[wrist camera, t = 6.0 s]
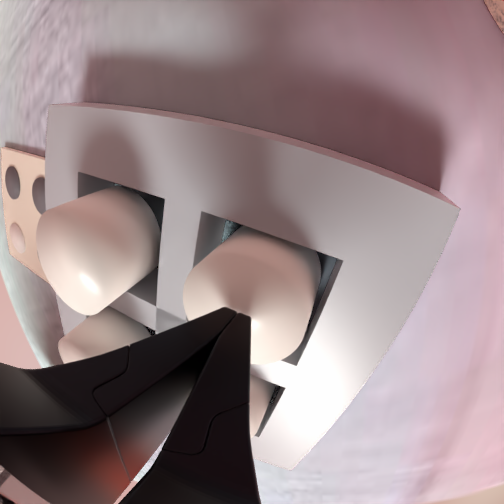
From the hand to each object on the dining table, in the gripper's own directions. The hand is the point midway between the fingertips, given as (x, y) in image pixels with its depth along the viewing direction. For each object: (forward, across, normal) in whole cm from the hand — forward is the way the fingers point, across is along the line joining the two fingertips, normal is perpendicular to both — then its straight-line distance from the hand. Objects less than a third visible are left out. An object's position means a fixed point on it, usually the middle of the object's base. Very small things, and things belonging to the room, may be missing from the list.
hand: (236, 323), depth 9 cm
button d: (+2, +6, 0) cm, 6 cm away
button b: (+2, +6, +6) cm, 9 cm away
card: (+4, +16, +3) cm, 17 cm away
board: (+4, +3, +3) cm, 6 cm away
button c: (+4, 0, 0) cm, 4 cm away
